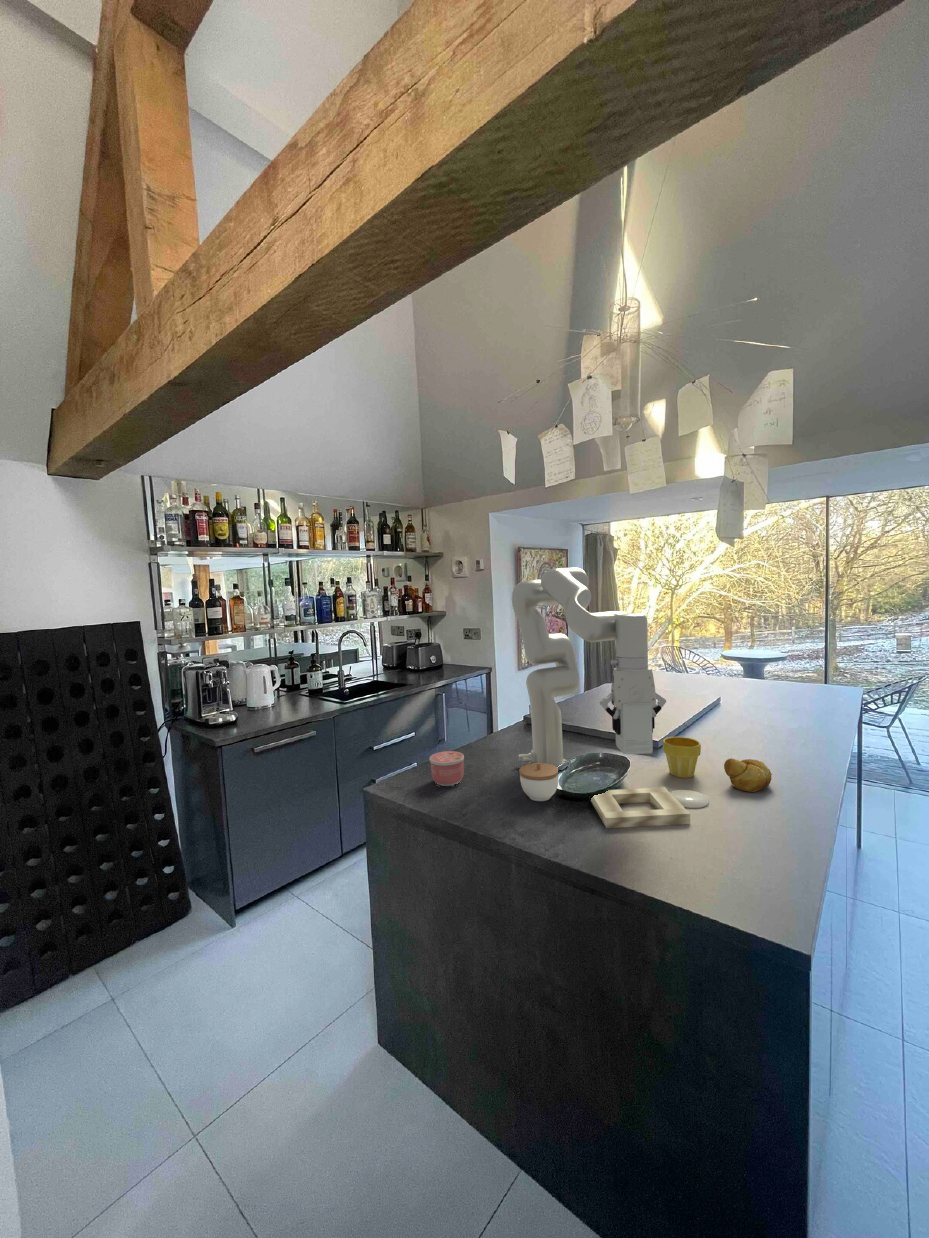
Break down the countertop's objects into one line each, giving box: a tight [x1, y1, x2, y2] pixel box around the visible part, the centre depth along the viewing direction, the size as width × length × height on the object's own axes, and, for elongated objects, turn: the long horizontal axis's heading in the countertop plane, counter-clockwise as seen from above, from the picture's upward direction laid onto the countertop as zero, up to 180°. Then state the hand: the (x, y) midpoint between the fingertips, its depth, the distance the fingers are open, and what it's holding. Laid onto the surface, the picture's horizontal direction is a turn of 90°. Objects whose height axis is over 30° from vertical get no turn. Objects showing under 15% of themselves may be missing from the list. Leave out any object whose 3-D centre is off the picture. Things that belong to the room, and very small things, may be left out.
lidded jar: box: [518, 763, 559, 802], centre depth 142 cm, size 11×11×9 cm
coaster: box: [669, 789, 710, 809], centre depth 136 cm, size 10×10×1 cm
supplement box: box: [615, 703, 654, 755], centre depth 129 cm, size 7×7×13 cm
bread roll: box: [723, 758, 773, 793], centre depth 142 cm, size 13×10×8 cm
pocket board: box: [590, 786, 691, 829], centre depth 131 cm, size 20×16×2 cm
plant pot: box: [662, 736, 702, 779], centre depth 153 cm, size 10×10×10 cm
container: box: [429, 750, 465, 785], centre depth 157 cm, size 10×10×8 cm
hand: (633, 731), depth 130 cm, fingers closed on supplement box, 7 cm apart
